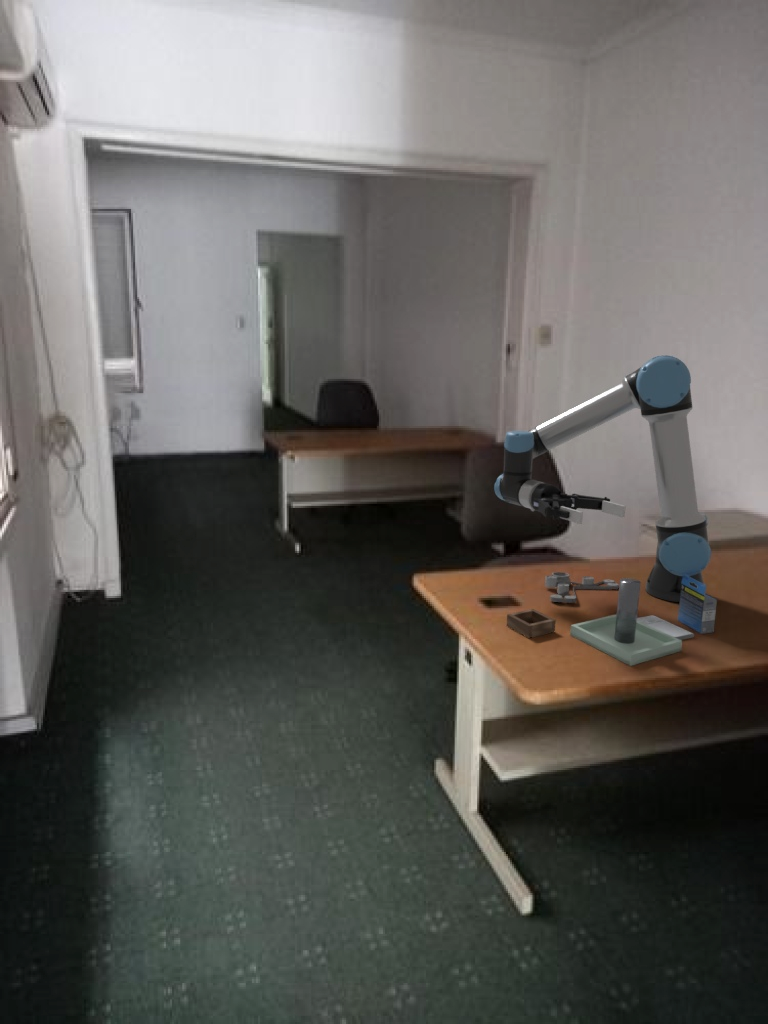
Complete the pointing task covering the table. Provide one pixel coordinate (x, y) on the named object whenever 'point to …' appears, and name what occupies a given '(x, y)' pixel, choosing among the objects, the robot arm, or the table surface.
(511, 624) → the pin socket
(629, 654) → the tray
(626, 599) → the pin
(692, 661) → the table surface
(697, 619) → the label tape box
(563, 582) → the pulley system
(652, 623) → the external hard drive
